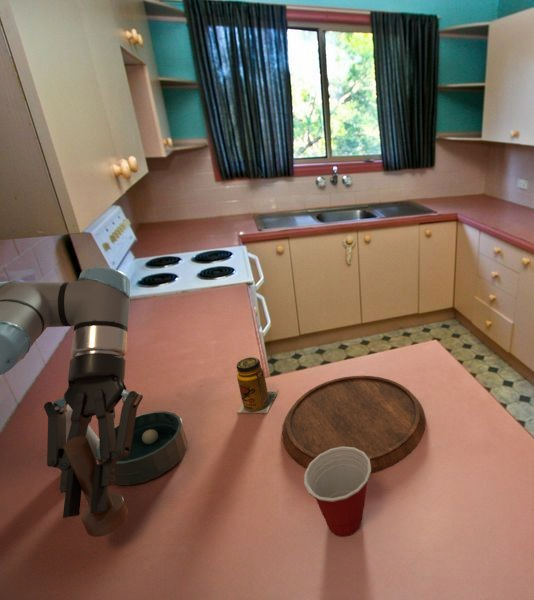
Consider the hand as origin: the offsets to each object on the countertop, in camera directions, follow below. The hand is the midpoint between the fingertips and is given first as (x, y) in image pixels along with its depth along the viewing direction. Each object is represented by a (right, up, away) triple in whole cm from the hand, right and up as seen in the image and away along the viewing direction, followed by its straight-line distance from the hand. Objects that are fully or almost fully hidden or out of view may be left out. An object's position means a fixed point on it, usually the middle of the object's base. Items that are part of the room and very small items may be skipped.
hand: (84, 513), depth 62 cm
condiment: (+11, +6, +43) cm, 44 cm away
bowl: (-6, -2, +26) cm, 27 cm away
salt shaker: (-19, -2, +27) cm, 33 cm away
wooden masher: (-1, -4, +6) cm, 7 cm away
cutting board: (+36, +3, +35) cm, 50 cm away
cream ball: (-8, +2, +29) cm, 30 cm away
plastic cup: (+36, -7, +11) cm, 39 cm away
